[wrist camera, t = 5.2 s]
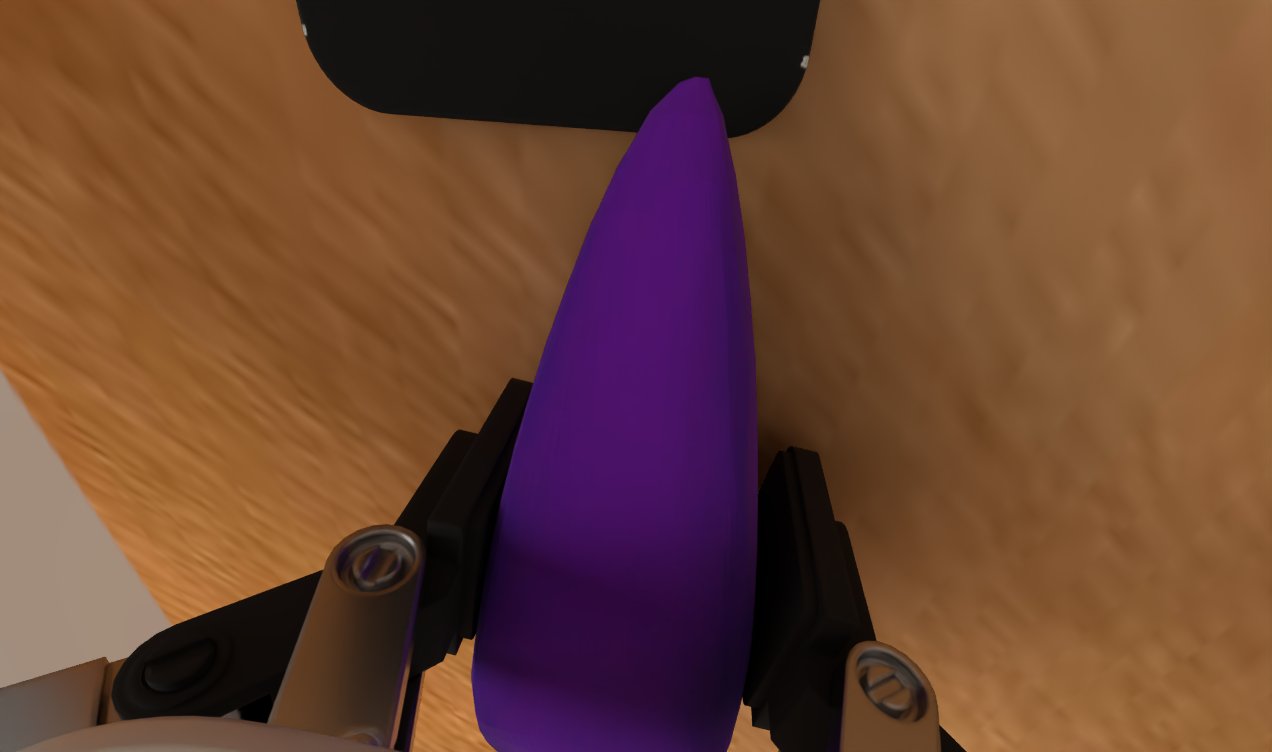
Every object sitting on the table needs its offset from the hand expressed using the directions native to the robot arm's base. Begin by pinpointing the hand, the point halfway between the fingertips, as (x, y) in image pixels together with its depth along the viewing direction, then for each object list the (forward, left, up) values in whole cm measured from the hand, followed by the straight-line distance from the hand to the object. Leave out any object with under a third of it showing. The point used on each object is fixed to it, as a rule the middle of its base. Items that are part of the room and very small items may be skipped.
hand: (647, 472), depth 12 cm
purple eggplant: (0, 0, -1) cm, 1 cm away
